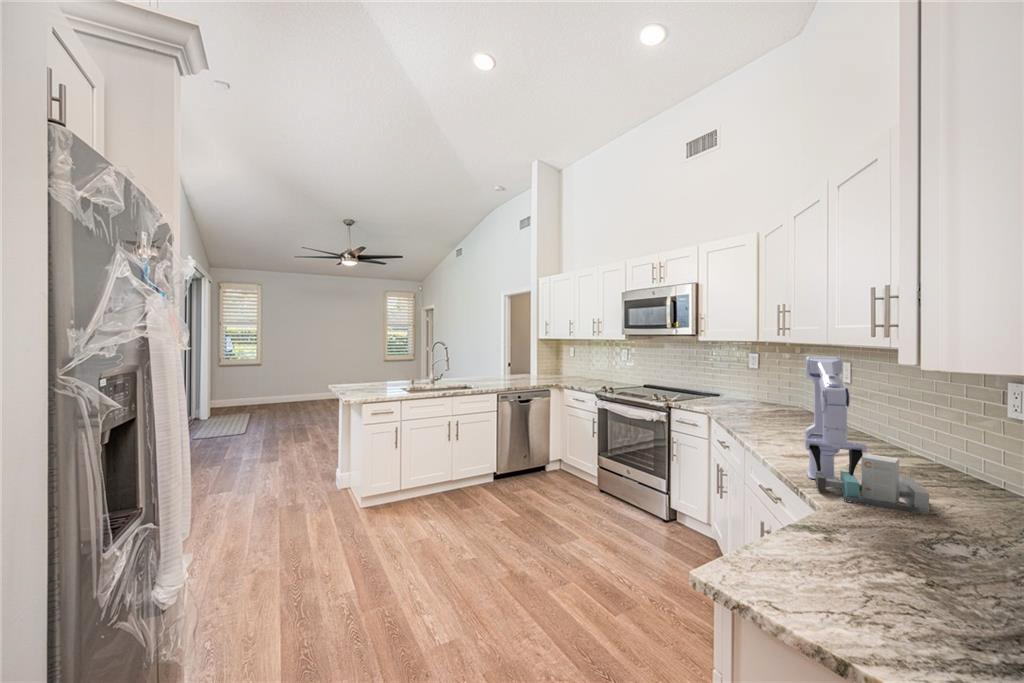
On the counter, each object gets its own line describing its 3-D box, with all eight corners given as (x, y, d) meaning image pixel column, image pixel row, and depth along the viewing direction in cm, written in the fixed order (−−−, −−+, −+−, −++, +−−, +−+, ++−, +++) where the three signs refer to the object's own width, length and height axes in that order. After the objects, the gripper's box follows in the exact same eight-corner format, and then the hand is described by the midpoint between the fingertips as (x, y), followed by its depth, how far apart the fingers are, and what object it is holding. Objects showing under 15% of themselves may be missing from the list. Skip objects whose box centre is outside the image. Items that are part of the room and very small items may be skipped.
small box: (899, 500, 126) (899, 458, 126) (896, 506, 122) (896, 462, 122) (865, 492, 132) (865, 452, 132) (861, 497, 128) (861, 456, 128)
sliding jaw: (814, 483, 140) (814, 467, 140) (852, 489, 135) (852, 472, 135) (819, 494, 131) (819, 477, 131) (859, 500, 125) (859, 483, 125)
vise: (835, 485, 139) (835, 468, 139) (911, 496, 129) (911, 477, 129) (844, 501, 126) (844, 481, 126) (929, 514, 116) (929, 493, 116)
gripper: (806, 427, 123) (806, 472, 123) (869, 433, 115) (869, 480, 115) (804, 423, 129) (804, 465, 129) (863, 427, 121) (863, 473, 121)
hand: (834, 472), depth 123 cm, fingers open, 7 cm apart
